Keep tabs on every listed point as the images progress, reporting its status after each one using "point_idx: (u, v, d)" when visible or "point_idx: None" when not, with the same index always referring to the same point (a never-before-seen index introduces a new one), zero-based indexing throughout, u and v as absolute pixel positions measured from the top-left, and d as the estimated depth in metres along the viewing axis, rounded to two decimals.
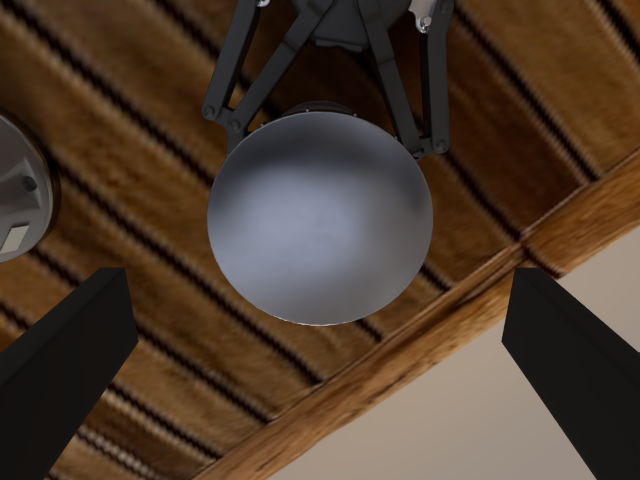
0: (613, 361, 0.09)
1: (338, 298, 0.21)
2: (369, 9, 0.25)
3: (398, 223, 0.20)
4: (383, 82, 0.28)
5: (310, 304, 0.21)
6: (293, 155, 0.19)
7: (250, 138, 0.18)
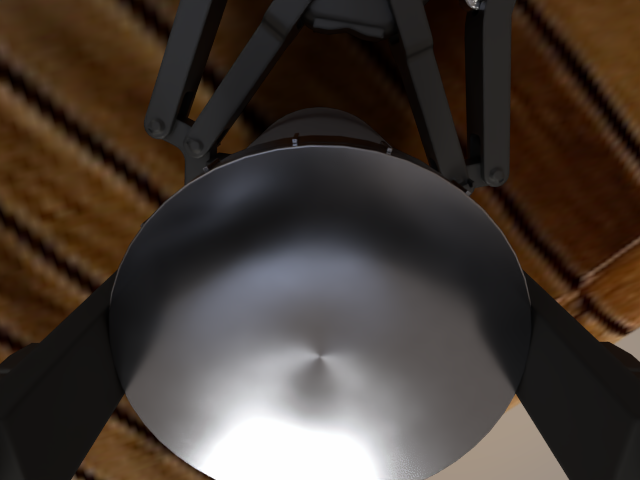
0: (572, 348, 0.09)
1: (352, 463, 0.12)
2: None
3: (466, 347, 0.11)
4: (414, 83, 0.19)
5: (303, 472, 0.12)
6: (268, 228, 0.09)
7: (181, 197, 0.09)
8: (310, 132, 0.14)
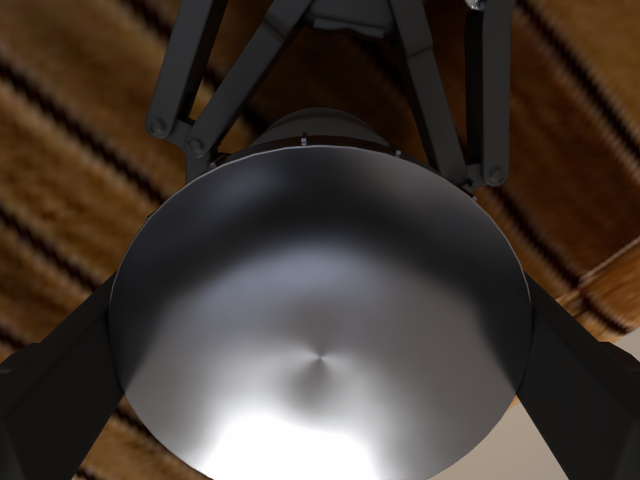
0: (572, 348, 0.09)
1: (471, 330, 0.10)
2: None
3: (313, 219, 0.09)
4: (414, 83, 0.19)
5: (475, 377, 0.11)
6: (187, 390, 0.11)
7: (165, 442, 0.12)
8: (310, 132, 0.14)
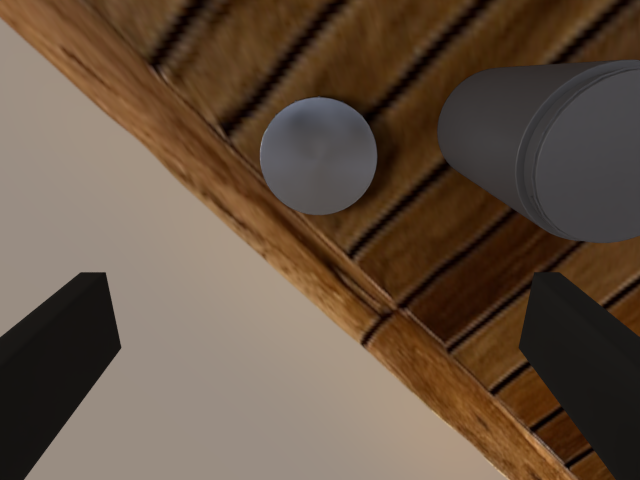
0: None
1: (277, 164, 0.39)
2: None
3: (317, 198, 0.40)
4: None
5: (274, 148, 0.38)
6: (358, 150, 0.38)
7: (369, 130, 0.37)
8: None
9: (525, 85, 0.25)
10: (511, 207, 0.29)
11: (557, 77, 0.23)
